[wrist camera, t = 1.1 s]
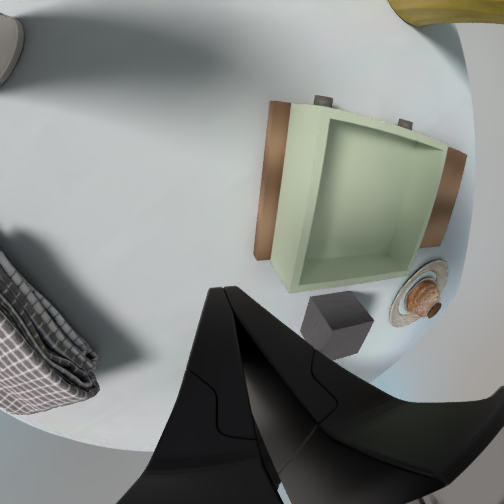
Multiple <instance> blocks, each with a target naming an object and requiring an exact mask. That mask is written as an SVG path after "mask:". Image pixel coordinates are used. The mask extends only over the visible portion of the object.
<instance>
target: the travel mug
mask: <svg viewBox="0 0 504 504" xmlns="http://www.w3.org/2000/svg"><path fill="white" fill-rule="evenodd" d="M23 42H24V30H23V26H22V24H21V22H20V21H19V20H17V19H15V18H13V17H10V16H7V15H5V14H2V13H0V86H1V85H2V84H3V83H4V82H5V80H6V79H7V78H8V77H9V75H10V74H11V72H12V71H13V69H14V67H15V65H16V64H17V61H18V59H19V57H20V54H21V51H22V48H23Z"/></svg>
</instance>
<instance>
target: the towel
mask: <svg viewBox="0 0 504 504" xmlns="http://www.w3.org/2000/svg"><path fill="white" fill-rule="evenodd" d="M99 362H100V356H99V355H98V354H97V353H96V352H95V351H94V350H93V349H92V348H91V347H90V345H89V344H88V342H87V341H86V340H84V339H83V338H82V337H81V336H80V335H79V334H78V333H77V332H76V331H74V330H73V328H71V327H70V326H69V325H68V323H67V322H66V320H65V319H64V318H63V317H62V315H61V314H60V313H59V311H58V310H57V309H56V308H55V307H54V306H53V305H52V304H51V303H50V302H49V301H48V300H47V299H46V298H45V297H44V296H43V295H42V294H40V293H39V292H38V291H37V290H36V289H35V288H34V287H32V286H31V285H30V284H29V283H28V282H27V281H26V280H25V279H24V278H23V277H22V276H21V274H20V273H19V272H18V271H17V270H16V269H15V268H14V267H13V265H12V263H11V262H10V261H9V260H8V259H7V258H6V256H5V254H4V253H3V252H2V250H1V249H0V407H1V408H2V409H3V410H5V411H7V412H9V413H11V414H18V415H19V414H21V415H29V414H35V413H38V412H42V411H47V410H50V409H52V408H56V407H59V406H65V405H70V404H73V403H77V402H81V401H84V400H87V399H89V398H91V397H94V396H95V395H96V394H97V393H98V391H100V389H99V387H100V386H99V384H98V383H97V381H96V377H95V375H94V374H93V372H92V371H91V370H94V369H96V368H97V365H98V363H99Z"/></svg>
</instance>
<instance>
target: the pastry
mask: <svg viewBox="0 0 504 504" xmlns="http://www.w3.org/2000/svg"><path fill="white" fill-rule="evenodd" d="M426 271H434V272H435V273H436V282H435V280H434V279H432V278H425V279H422V280H420V281H419V282H417V283H416V284H415V285H414V286H413V288H412V289H411V290H410V291H409V292H408V293H407V295H406V297H405V302H404V303H405V304H404V308H405V311H406V312H407V313H409V314H407V315H402V314H400V313H399V311H398V306H399V302H400V300H401V298H402V296H403V294H404V292H405V291H406V289H407V288H408V287H409V286H410V284H411V283H412V282H413V281H414V280H415V279H416V278H417V277H419V276H420V275H421V274H423V273H424V272H426ZM447 275H448V267H447V264H446V263H445V262H444V261H442V260H436V261H433V262H431V263H429V264H427V265H425V266H424V267H422V268H421V269H420V270H419V271H418V272H416V273H415V274H414V275H413V276H412V277H411V278H410V279H409V280H408V281H407V283H406V284H404V285H403V286H402V287H401V288H400V290H399V293H398V295H397V297H396V299H395V300H394V302H393V304H392V306H391V308H390V309H391V310H390V314H389V320H390V323H391V325H392V326H394V327H403V326H406V325H409V324H410V323H412V322H414V321H416V320H417V319H419V318H420V317H427V316H428V318H432V317H433V316H434V315H435V314H436V313H437V312H438V311H439V310H440V308H441V303H439V301H440V294H441V292H442V290H443V288H444V286H445V284H446V281H447Z"/></svg>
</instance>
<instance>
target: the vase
mask: <svg viewBox="0 0 504 504" xmlns="http://www.w3.org/2000/svg"><path fill="white" fill-rule="evenodd" d="M388 1H389V3H390V5H391V6H392V8H393V9H394V10H395V12H396V13H397V14H398V15H399V16H400V17H401V18H402V19H403V20H405V21H406V22H408V23H409V24H412V25H414V26H418V27H420V26H424V25H430V24H444V23H496V24H504V0H388Z"/></svg>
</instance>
